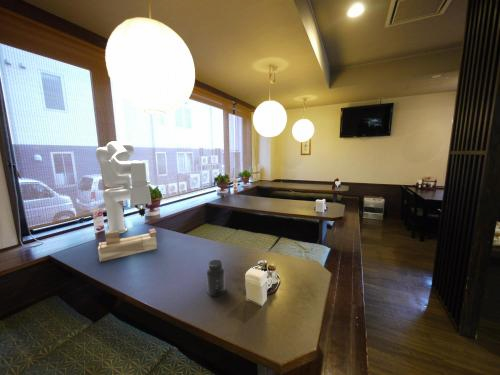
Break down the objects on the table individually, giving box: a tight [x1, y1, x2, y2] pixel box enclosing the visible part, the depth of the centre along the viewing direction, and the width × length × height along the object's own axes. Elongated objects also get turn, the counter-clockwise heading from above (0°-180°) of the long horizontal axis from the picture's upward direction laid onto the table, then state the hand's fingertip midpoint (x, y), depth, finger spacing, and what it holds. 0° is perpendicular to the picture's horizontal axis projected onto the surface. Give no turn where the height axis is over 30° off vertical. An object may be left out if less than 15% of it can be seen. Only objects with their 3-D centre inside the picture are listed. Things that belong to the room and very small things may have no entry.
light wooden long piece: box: [97, 233, 158, 263], centre depth 114 cm, size 9×27×7 cm, turn 122°
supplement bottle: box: [206, 259, 226, 297], centre depth 79 cm, size 7×7×12 cm
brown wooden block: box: [148, 228, 157, 237], centre depth 120 cm, size 7×3×2 cm, turn 32°
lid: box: [101, 230, 142, 250], centre depth 112 cm, size 9×19×7 cm, turn 122°
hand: (142, 215), depth 116 cm, fingers closed
